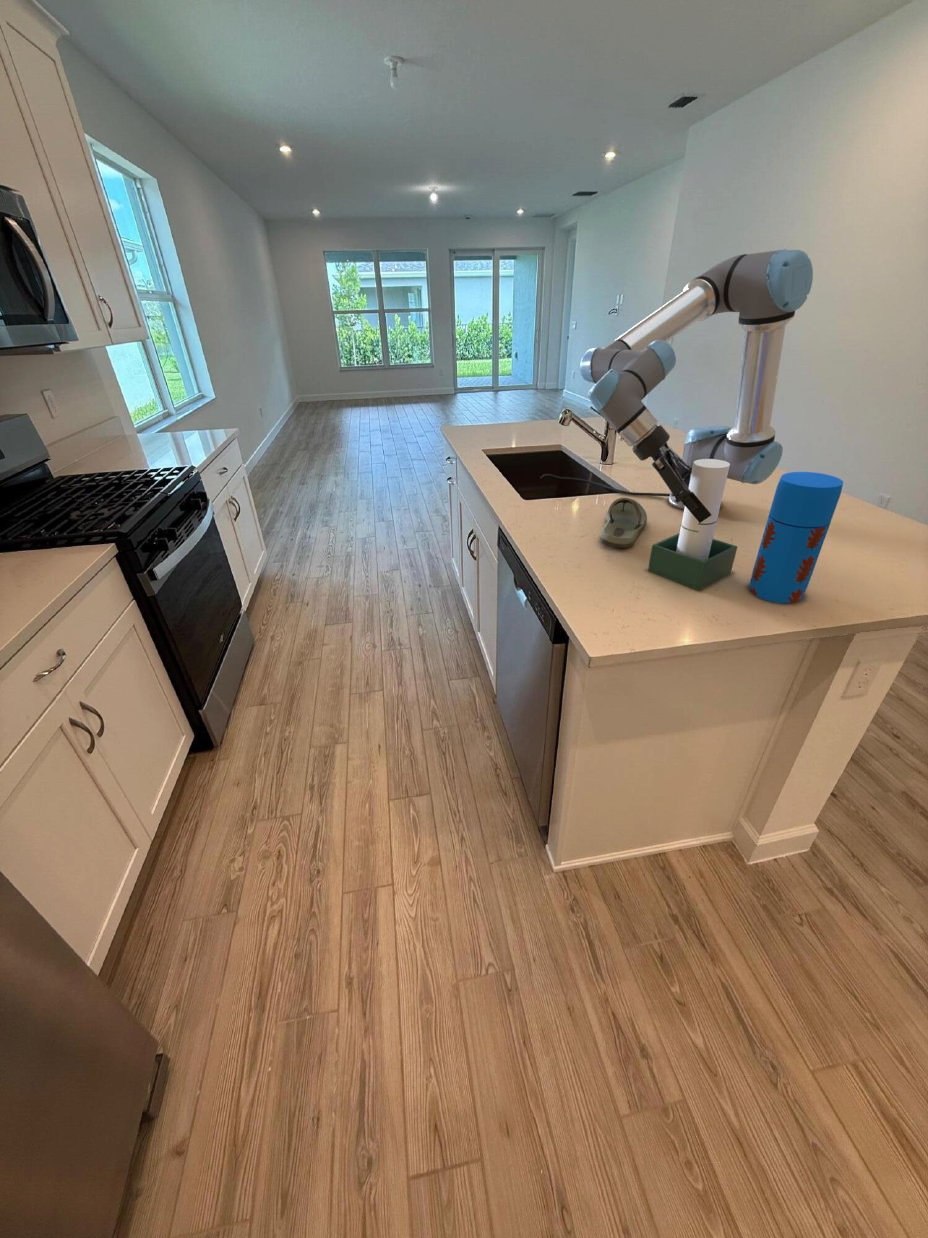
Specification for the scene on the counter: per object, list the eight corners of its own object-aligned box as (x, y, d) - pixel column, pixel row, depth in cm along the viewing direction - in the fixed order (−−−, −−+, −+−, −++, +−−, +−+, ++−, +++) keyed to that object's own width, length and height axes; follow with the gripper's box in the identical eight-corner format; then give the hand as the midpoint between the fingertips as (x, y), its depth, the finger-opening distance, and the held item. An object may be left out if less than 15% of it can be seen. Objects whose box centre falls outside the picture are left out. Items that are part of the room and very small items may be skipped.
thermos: (738, 582, 116) (768, 473, 103) (783, 578, 116) (818, 469, 103) (766, 605, 107) (803, 489, 94) (815, 601, 107) (858, 485, 94)
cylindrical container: (708, 576, 117) (733, 468, 104) (675, 574, 119) (696, 467, 106) (702, 562, 123) (725, 458, 110) (671, 561, 125) (690, 458, 111)
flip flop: (610, 511, 158) (613, 484, 153) (650, 515, 153) (654, 488, 149) (588, 547, 136) (591, 517, 131) (634, 553, 131) (638, 523, 127)
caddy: (647, 570, 123) (652, 544, 119) (680, 554, 129) (685, 529, 126) (698, 590, 114) (704, 563, 110) (730, 572, 120) (737, 546, 116)
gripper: (635, 435, 122) (691, 500, 125) (623, 462, 102) (689, 539, 105) (662, 412, 117) (719, 480, 120) (655, 436, 98) (722, 517, 101)
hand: (705, 508), depth 113 cm, fingers open, 13 cm apart
